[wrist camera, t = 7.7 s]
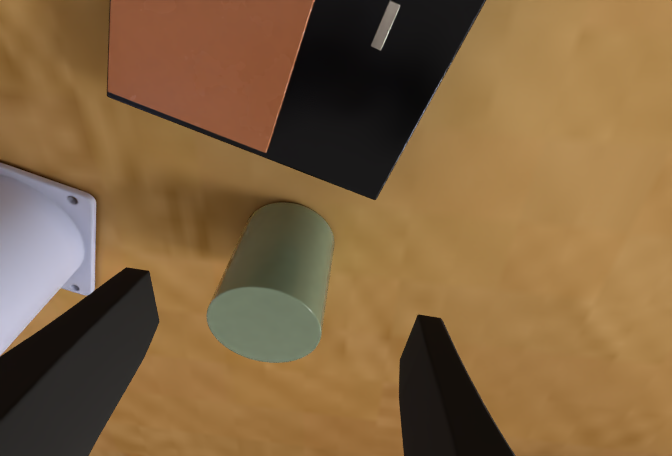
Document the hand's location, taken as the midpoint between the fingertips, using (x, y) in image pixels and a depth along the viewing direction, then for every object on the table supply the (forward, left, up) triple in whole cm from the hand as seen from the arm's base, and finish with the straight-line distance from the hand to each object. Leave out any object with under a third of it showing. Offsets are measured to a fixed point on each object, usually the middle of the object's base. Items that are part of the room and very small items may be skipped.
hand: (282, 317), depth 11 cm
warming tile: (-5, +4, -7) cm, 10 cm away
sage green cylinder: (0, -5, -9) cm, 11 cm away
